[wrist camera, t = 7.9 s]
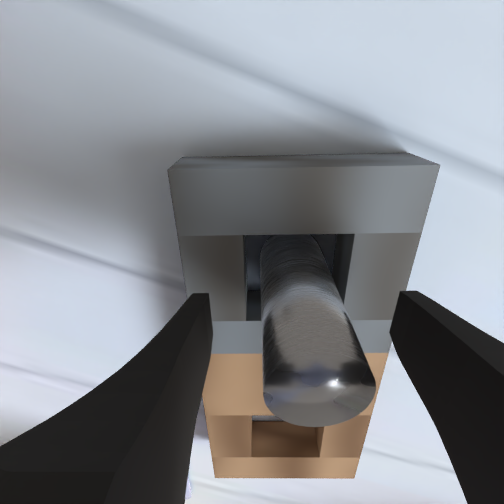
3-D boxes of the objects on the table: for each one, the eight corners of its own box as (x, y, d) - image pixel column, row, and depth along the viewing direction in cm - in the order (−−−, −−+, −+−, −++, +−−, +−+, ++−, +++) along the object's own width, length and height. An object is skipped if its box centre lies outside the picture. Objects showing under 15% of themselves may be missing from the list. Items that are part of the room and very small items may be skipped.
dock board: (218, 441, 23) (215, 477, 21) (182, 157, 13) (167, 170, 11) (344, 441, 23) (354, 478, 21) (408, 152, 13) (440, 164, 11)
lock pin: (260, 283, 16) (264, 427, 9) (258, 230, 15) (261, 354, 8) (318, 281, 16) (367, 426, 9) (323, 228, 15) (384, 351, 8)
